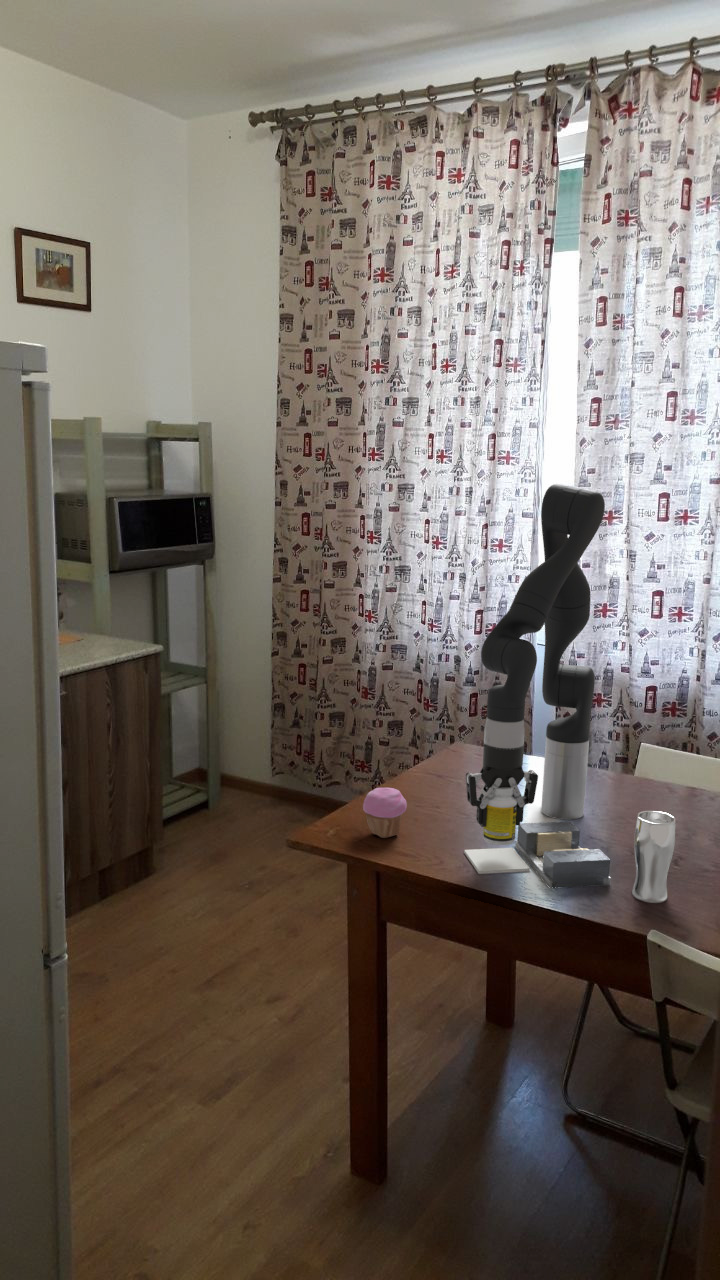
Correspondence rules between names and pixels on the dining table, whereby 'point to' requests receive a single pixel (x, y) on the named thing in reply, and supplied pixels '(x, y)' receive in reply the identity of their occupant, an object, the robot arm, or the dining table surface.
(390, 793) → the cupcake
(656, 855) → the beer glass
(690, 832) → the dining table surface
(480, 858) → the placing pad
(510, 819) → the pill bottle
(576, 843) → the bench vise
